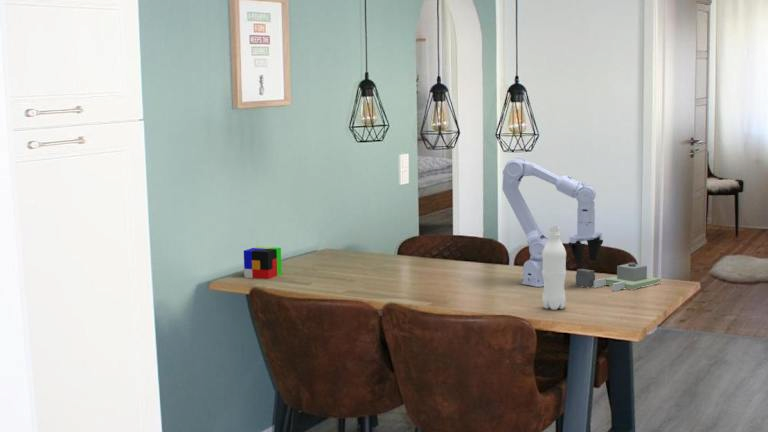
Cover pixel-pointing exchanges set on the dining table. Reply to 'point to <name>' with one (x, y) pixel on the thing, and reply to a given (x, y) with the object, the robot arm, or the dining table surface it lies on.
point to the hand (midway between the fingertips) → (585, 261)
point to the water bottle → (554, 271)
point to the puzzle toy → (262, 262)
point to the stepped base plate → (627, 277)
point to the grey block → (585, 278)
